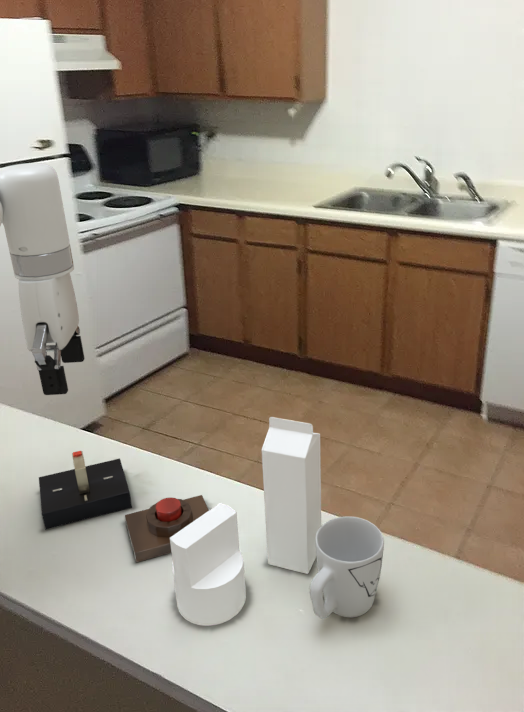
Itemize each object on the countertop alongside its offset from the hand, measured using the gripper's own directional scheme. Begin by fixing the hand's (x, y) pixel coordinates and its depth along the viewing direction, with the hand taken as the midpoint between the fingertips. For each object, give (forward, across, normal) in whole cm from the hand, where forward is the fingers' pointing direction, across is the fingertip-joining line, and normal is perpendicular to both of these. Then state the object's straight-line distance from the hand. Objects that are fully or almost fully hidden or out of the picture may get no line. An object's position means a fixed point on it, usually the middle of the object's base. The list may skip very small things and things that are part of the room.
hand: (65, 376), depth 95 cm
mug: (+24, +22, +36) cm, 49 cm away
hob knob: (+21, -3, -1) cm, 21 cm away
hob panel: (+24, -3, -2) cm, 24 cm away
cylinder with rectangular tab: (+24, +20, +20) cm, 37 cm away
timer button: (+21, +6, +13) cm, 25 cm away
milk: (+24, +12, +31) cm, 41 cm away
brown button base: (+24, +6, +13) cm, 28 cm away
